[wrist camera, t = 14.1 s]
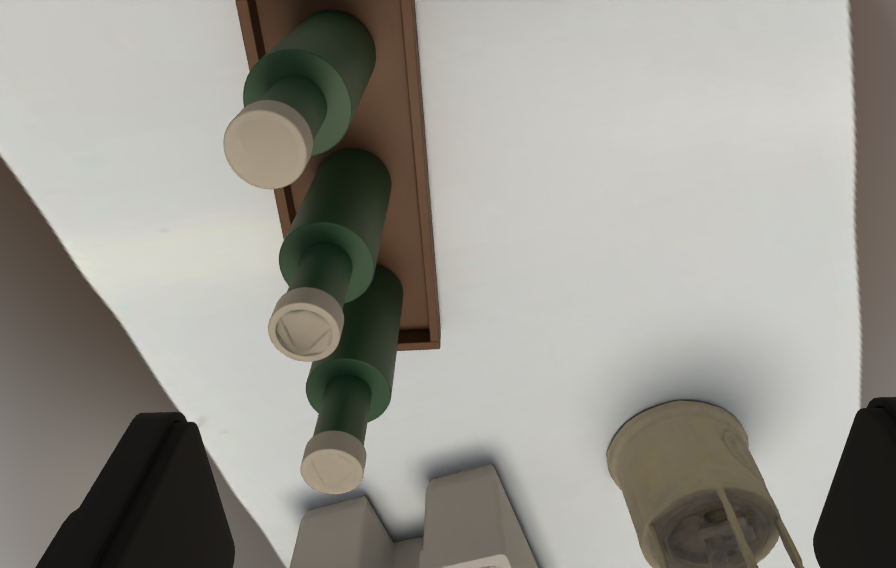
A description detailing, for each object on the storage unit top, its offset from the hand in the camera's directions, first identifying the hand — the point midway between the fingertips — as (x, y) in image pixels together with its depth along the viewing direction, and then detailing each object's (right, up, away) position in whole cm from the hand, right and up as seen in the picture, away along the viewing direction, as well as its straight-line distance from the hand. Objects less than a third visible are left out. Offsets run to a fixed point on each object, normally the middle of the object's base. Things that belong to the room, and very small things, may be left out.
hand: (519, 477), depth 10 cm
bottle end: (-6, +2, +34) cm, 34 cm away
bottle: (-7, +15, +26) cm, 31 cm away
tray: (-7, +9, +30) cm, 33 cm away
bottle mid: (-7, +9, +30) cm, 32 cm away
